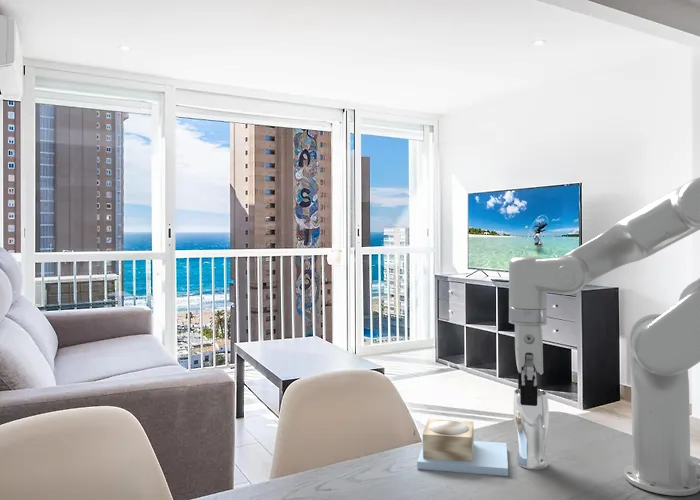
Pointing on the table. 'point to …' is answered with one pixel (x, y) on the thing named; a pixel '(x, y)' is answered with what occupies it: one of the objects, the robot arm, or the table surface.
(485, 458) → the blueprint board
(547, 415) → the beer glass
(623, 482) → the table surface
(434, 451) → the plinth
